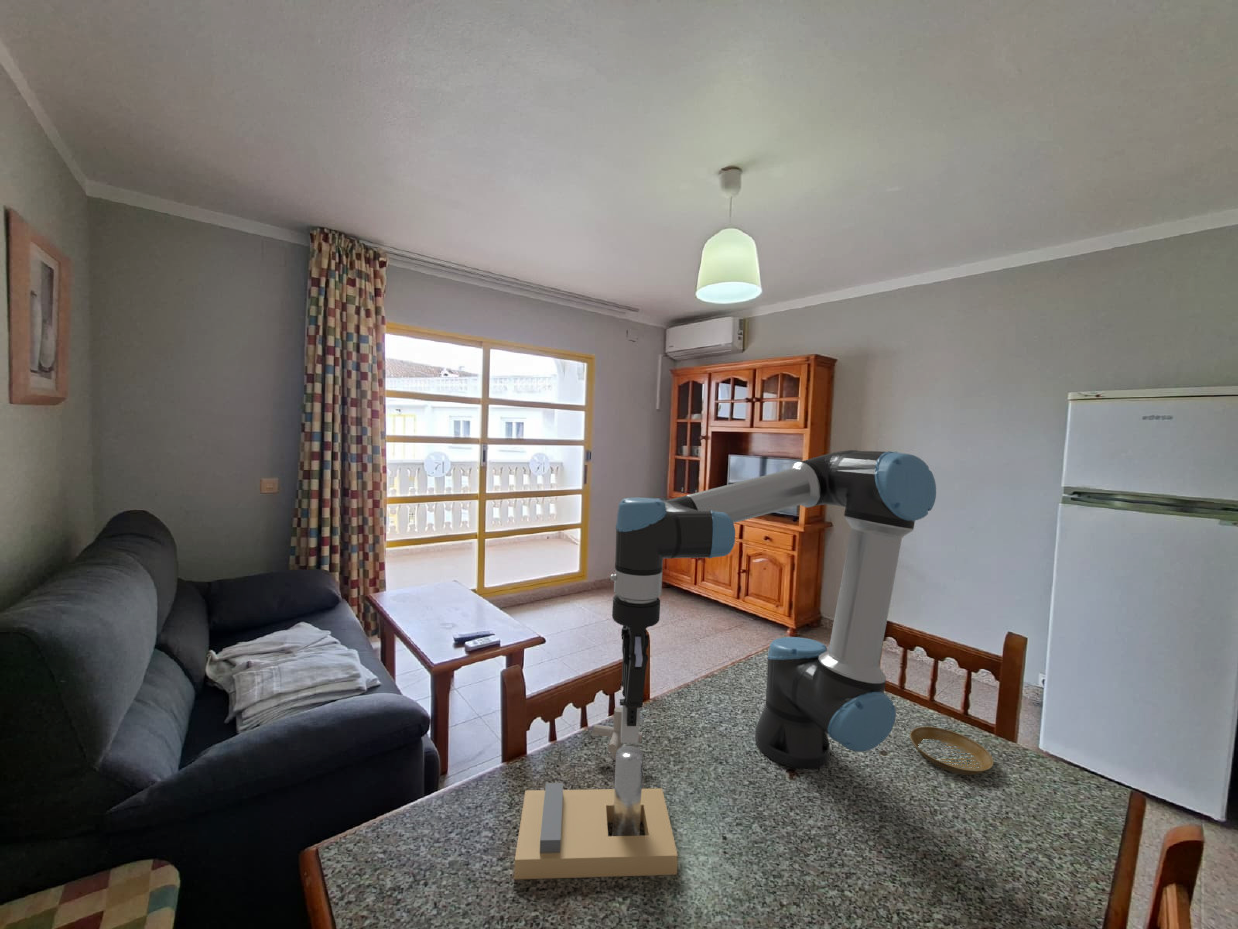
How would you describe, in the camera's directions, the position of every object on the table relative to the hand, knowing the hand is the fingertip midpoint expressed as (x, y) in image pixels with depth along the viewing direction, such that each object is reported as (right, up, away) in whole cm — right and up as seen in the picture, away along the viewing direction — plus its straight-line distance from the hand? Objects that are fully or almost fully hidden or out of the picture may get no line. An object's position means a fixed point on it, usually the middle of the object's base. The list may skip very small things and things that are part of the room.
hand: (629, 740), depth 79 cm
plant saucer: (+69, -19, +26) cm, 76 cm away
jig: (-6, -16, +1) cm, 17 cm away
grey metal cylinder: (-1, -16, +1) cm, 16 cm away
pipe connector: (-2, -15, +21) cm, 26 cm away
